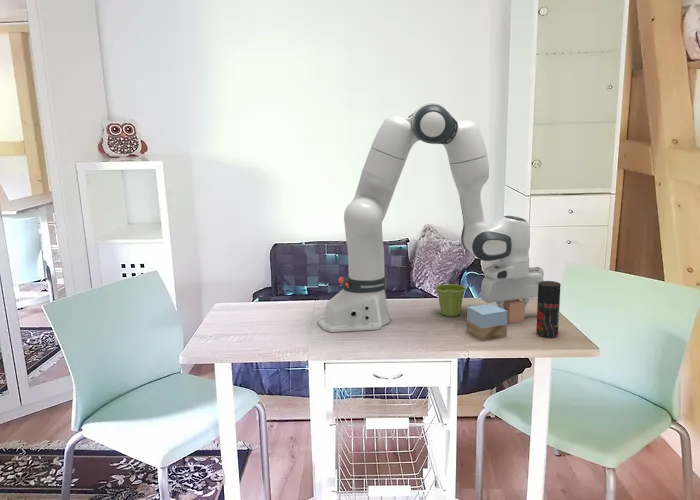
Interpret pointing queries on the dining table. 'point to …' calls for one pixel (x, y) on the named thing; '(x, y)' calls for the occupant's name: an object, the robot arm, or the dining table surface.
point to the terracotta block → (514, 310)
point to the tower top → (487, 315)
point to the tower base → (486, 331)
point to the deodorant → (548, 309)
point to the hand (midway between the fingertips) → (512, 313)
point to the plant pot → (450, 298)
